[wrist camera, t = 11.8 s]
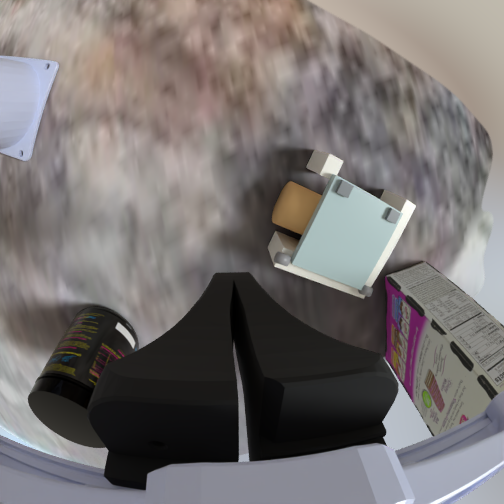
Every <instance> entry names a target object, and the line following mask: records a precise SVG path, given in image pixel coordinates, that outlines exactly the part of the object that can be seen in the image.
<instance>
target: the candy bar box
mask: <svg viewBox="0 0 504 504" xmlns="http://www.w3.org/2000/svg"><path fill="white" fill-rule="evenodd" d="M385 288H386V360H387V361H388V363H389V365H390V366H391V368H392V369H393V371H394V373H395V374H396V376H397V378H398V379H399V381H400V382H401V384H402V385H403V387H404V388H405V390H406V392H407V393H408V395H409V397H410V398H411V400H412V402H413V403H414V405H415V407H416V408H417V410H418V411H419V413H420V414H421V417H422V418H423V420H424V422H425V423H426V425H427V427H428V429H429V431H430V432H431V434H432V436H435V435H438V434H440V433H442V432H444V431H447V430H449V429H451V428H453V427H455V426H457V425H459V424H461V423H463V422H465V421H467V420H469V419H471V418H473V417H475V416H476V415H478V414H480V413H482V412H484V411H485V409H486V407H487V406H488V405H489V403H490V402H491V401H492V400H493V398H494V397H495V396H497V395H498V394H499V393H500V392H502V391H504V326H503V325H502V324H501V323H500V322H499V321H497V320H496V319H495V318H494V317H493V316H492V315H491V314H489V313H488V312H487V311H486V310H485V309H484V308H482V307H481V306H480V305H479V304H478V303H477V302H476V301H475V300H474V299H473V298H471V297H470V296H469V295H467V294H466V293H465V292H464V291H462V290H461V289H460V288H459V287H458V286H456V285H455V284H454V283H453V282H451V281H450V280H449V279H448V278H447V277H445V276H444V275H443V274H441V273H440V272H439V271H438V270H436V269H435V268H434V267H432V266H431V265H430V264H428V263H427V262H425V261H424V262H421V263H418V264H415V265H413V266H411V267H408V268H406V269H403V270H400V271H397V272H394V273H392V274H389V275H386V276H385Z"/></svg>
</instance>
